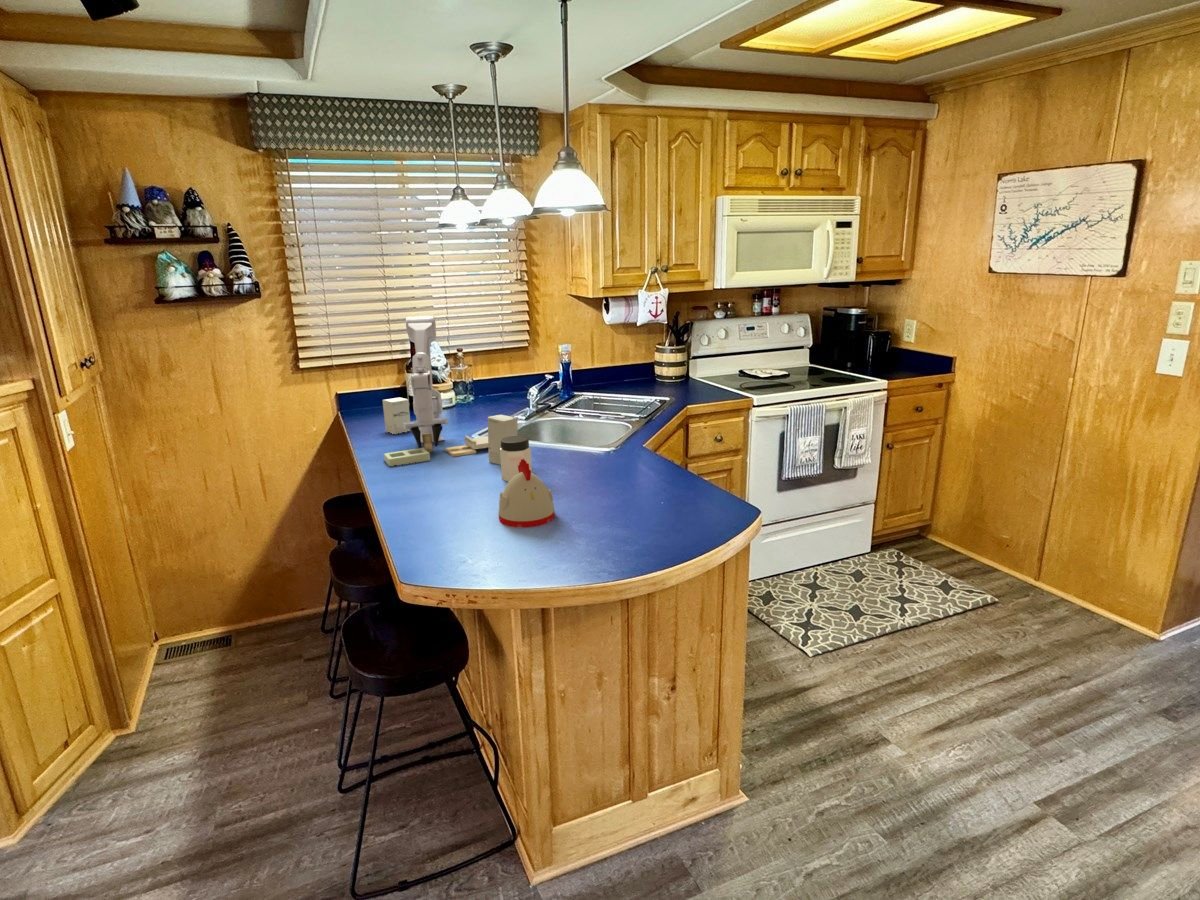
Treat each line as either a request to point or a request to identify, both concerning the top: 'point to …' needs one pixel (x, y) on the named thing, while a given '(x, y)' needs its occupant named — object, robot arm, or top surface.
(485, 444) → the lid
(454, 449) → the board
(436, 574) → the top surface
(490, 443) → the skincare box
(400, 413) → the supplement box
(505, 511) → the kitchen timer
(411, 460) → the socket board
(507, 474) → the jar
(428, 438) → the peg
